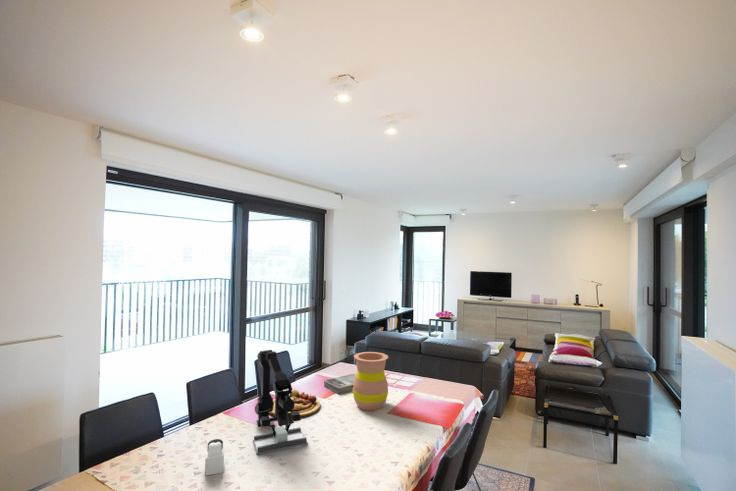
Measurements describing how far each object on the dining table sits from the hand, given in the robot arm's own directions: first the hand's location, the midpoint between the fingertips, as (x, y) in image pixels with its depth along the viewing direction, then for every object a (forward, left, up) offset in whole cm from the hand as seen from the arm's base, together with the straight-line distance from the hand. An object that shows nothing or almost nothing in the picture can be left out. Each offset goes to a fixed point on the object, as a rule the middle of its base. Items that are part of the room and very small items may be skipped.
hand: (280, 436), depth 179 cm
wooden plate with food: (-39, +16, -4) cm, 42 cm away
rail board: (0, 0, -3) cm, 3 cm away
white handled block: (+11, -30, -4) cm, 32 cm away
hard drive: (-60, +59, -4) cm, 84 cm away
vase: (-24, +60, -4) cm, 65 cm away
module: (0, 0, -2) cm, 2 cm away
